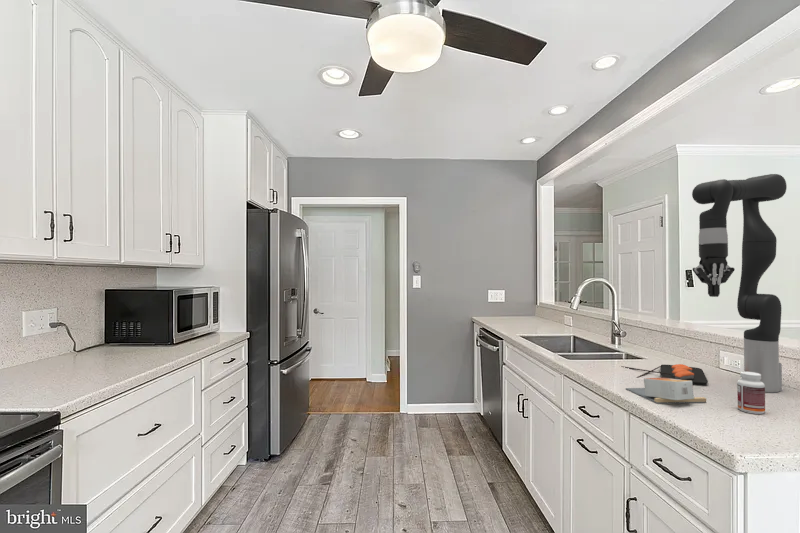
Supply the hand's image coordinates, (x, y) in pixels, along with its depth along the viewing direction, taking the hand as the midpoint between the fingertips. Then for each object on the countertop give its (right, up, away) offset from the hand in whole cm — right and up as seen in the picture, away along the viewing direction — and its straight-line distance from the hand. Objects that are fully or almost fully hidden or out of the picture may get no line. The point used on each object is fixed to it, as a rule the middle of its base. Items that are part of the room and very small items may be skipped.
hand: (713, 296), depth 134 cm
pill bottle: (+2, -33, -12) cm, 35 cm away
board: (-14, -33, +3) cm, 36 cm away
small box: (-15, -28, -8) cm, 33 cm away
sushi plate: (+3, -34, +34) cm, 48 cm away
